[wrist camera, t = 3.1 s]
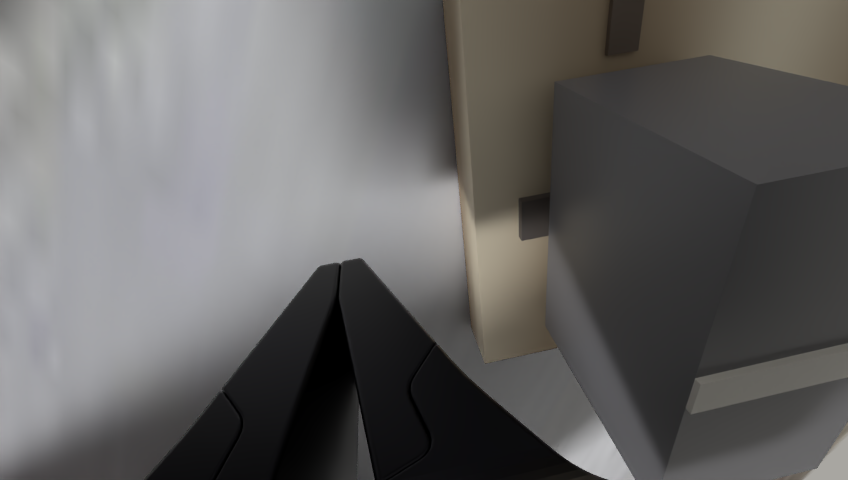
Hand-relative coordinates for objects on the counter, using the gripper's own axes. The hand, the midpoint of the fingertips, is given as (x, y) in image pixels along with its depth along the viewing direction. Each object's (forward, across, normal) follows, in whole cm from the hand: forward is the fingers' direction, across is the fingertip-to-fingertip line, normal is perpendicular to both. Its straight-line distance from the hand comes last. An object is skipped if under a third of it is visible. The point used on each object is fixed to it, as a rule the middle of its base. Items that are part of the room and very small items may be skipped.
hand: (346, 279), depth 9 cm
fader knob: (0, -6, 0) cm, 6 cm away
